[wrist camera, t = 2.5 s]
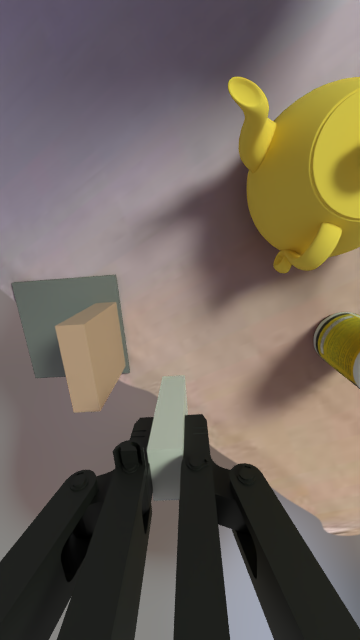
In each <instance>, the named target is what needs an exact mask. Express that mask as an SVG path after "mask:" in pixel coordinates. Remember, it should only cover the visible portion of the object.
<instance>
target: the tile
mask: <svg viewBox="0 0 360 640" xmlns="http://www.w3.org/2000/svg"><path fill="white" fill-rule="evenodd" d="M55 329H56V334H57V338H58V343H59V347H60V352H61V356H62V361H63V365H64V370H65V375H66V379H67V384H68V388H69V393H70V397H71V402H72V407H73V411H74V412H95V411H101V409H102V407H103V406H104V404H105V402H106V400H107V398H108V397H109V395H110V393H111V391H112V389H113V388H114V386H115V384H116V382H117V381H118V379H119V377H120V375H121V373H122V372H123V370H124V368H125V366H126V365H125V358H124V351H123V344H122V337H121V331H120V324H119V317H118V310H117V304H116V302H106V303H95V304H93V305H92V306H90V307H88V308H86V309H85V310H83V311H81V312H79V313H77V314H76V315H74V316H72V317H70V318H68V319H67V320H65V321H63V322H61V323H59V324H58V325H56V326H55Z"/></svg>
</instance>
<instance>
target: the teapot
mask: <svg viewBox="0 0 360 640" xmlns="http://www.w3.org/2000/svg"><path fill="white" fill-rule="evenodd" d="M228 90H229V93H230V95H231V97H232V98H233V99H234V101H235V102H236V103H237V104H238V105H239V107H240V108H241V109H242V110H243V112H244V115H245V120H244V123H243V126H242V129H241V134H240V138H239V154H240V158H241V160H242V162H243V163H244V165H245V166H246V167H247V168H248V169H249V172H248V176H247V201H248V207H249V211H250V214H251V217H252V219H253V222H254V224H255V226H256V227H257V229H258V231H259V232H260V233H261V235H262V236H263V237H264V238H265V239H266V240H267V241H268V242H269V243H270V244H271V245H272V246H274V247H275V248H277V249H278V250H280V252H279V253H278V254H277V256H276V258H275V260H274V264H273V266H274V268H275V270H276V271H278V272H280V273H287V272H288V271H289V270H290V268H291V266H292V265H293V266H295V267H296V268H298V269H301V270H306V271H309V270H313V269H316V268H317V267H319V266H320V265H321V264H322V263H323V262H324V261H325V260H326V259H327V258H328V257H332V256H336V255H340V254H343V253H346V252H349V251H351V250H354V249H356V248H358V247H360V77H353V78H346V79H341V80H338V81H334V82H331V83H328V84H325V85H323V86H321V87H319V88H316V89H314V90H312V91H311V92H309V93H308V94H306V95H304V96H303V97H301V98H299V99H298V100H297V101H295V102H294V103H293V104H292V105H290V106H289V107H288V108H287V109H285V110H284V111H283V112H282V113H281V114H280V115H279V116H278V117H277V118H276V119H275V120H274V122H273V121H272V120H270V119H269V118H267V117H268V112H269V105H268V101H267V98H266V96H265V94H264V93H263V91H262V90H261V89H260V88H259V87H258V86H257V85H256V84H255V83H253V82H252V81H250V80H248V79H246V78H243V77H233V78H231V79H230V80H229V82H228Z"/></svg>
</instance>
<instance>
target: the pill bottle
mask: <svg viewBox="0 0 360 640" xmlns="http://www.w3.org/2000/svg"><path fill="white" fill-rule="evenodd" d="M313 342H314V348H315V350H316V352H317V353H318V355H319V356H320V357H321V358H322V359H323V360H324V361H326V362H327V363H328V364H329V365H331V366H332V367H333V368H334V369H336V370H337V371H338V372H339V373H340V374H342V375H343V376H344V377H345V378H347V379H348V380H349V381H351V382H352V383H353V384H354V385H356V386H357V387H358V388H359V389H360V315H358V314H354V313H350V312H340V313H336V314H333V315H331V316H329V317H327V318H326V319H325V320H323V321H322V322H321V323H320V325H319V326H318V327H317V329H316V331H315V334H314V340H313Z"/></svg>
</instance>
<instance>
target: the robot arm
mask: <svg viewBox="0 0 360 640" xmlns="http://www.w3.org/2000/svg"><path fill="white" fill-rule="evenodd" d="M113 455H114V461H115V467H116V468H115V469H114V470H113V471H111V472H108V473H106V474H103V475H100V476H96V475H95V473H94V472H93V471H91V470H81V471H78V472H76V473H74V474H73V475H71V476H70V477H69V478H68V479H67V480H66V481H65V482H64V483H63V485H62V486H61V487H60V489H59V490H58V491H57V492H56V493H55V495H54V496H53V497H52V498H51V500H50V501H49V502H48V503H47V505H46V506H45V507H44V508H43V510H42V511H41V512H40V513H39V514H38V516H37V517H36V519H34V521H33V522H32V523H31V524H30V526H29V527H28V528H27V529H26V531H25V532H24V533H23V534H22V536H21V537H20V538H19V539H18V541H17V542H16V543H15V544H14V546H13V547H12V548H11V549H10V551H9V552H8V553H7V554H6V556H5V557H4V558H3V559H2V560H1V562H0V640H49V638H50V636H51V634H52V632H53V631H54V629H55V627H56V625H57V623H58V621H59V619H60V617H61V615H62V613H63V611H64V609H65V608H66V606H67V604H68V602H69V600H70V598H71V600H70V603H69V605H68V609H67V611H66V614H65V617H64V620H63V623H62V626H61V629H60V632H59V635H58V638H57V640H134V638H135V631H136V623H137V616H138V609H139V602H140V595H141V587H142V581H143V574H144V566H145V560H146V551H147V545H148V538H149V531H150V524H151V517H152V508H151V507H152V506H151V499H152V493H153V500H154V501H158V500H179V521H178V546H177V570H176V594H175V616H174V640H230V634H229V625H228V615H227V606H226V596H225V587H224V577H223V567H222V558H221V548H220V538H219V529H218V524H219V525H222V526H225V527H228V528H231V529H232V531H233V533H234V537H235V539H236V542H237V545H238V547H239V550H240V552H241V555H242V558H243V560H244V563H245V565H246V568H247V571H248V573H249V576H250V578H251V581H252V584H253V586H254V589H255V591H256V594H257V597H258V599H259V602H260V604H261V607H262V609H263V612H264V615H265V617H266V620H267V622H268V625H269V628H270V630H271V633H272V635H273V638H274V640H360V629H359V627H358V625H357V624H356V622H355V621H354V619H353V618H352V616H351V614H350V613H349V611H348V610H347V608H346V606H345V605H344V603H343V602H342V600H341V599H340V597H339V595H338V594H337V592H336V590H335V589H334V587H333V586H332V584H331V582H330V581H329V579H328V578H327V576H326V574H325V573H324V571H323V570H322V568H321V567H320V565H319V563H318V562H317V560H316V559H315V557H314V555H313V554H312V552H311V551H310V549H309V547H308V546H307V544H306V543H305V541H304V540H303V538H302V536H301V535H300V533H299V531H298V530H297V528H296V527H295V525H294V524H293V522H292V520H291V519H290V517H289V516H288V514H287V512H286V511H285V509H284V508H283V506H282V504H281V503H280V501H279V500H278V498H277V497H276V495H275V493H274V492H273V490H272V489H271V487H270V485H269V484H268V482H267V481H266V479H265V477H264V476H263V474H262V473H261V472H260V470H259V469H258V468H256V467H255V466H253V465H250V464H246V463H244V464H238V465H236V466H234V467H233V468H232V469H231V470H228V469H225V468H222V467H219V466H218V465H216V464H215V463H214V462H213V461H212V459H211V456H210V448H209V438H208V429H207V420H206V419H205V417H204V416H203V415H202V414H198V415H188V410H187V397H186V384H185V375H183V376H164V377H162V382H161V387H160V391H159V396H158V401H157V405H156V410H155V415H154V417H146V418H140V419H139V420H138V421H137V422H136V423H135V424H134V428H133V431H132V434H131V438H130V440H128V441H124V442H122V443H120V444H119V445H118V446H116V447H115V449H114V451H113ZM71 596H72V597H71Z"/></svg>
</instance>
